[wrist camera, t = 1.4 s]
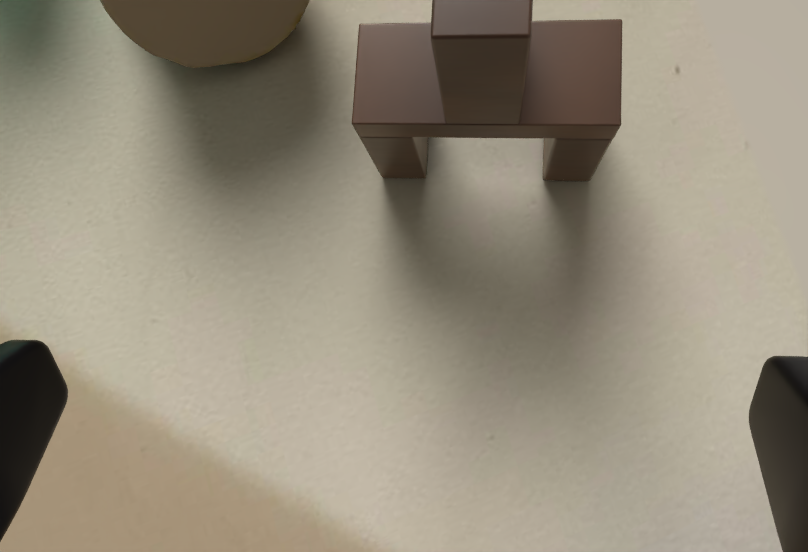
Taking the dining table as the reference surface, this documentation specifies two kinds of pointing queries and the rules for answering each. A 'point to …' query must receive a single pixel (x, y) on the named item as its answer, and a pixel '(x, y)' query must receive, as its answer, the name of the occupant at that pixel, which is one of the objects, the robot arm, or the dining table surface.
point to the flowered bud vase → (206, 27)
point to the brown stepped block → (488, 85)
